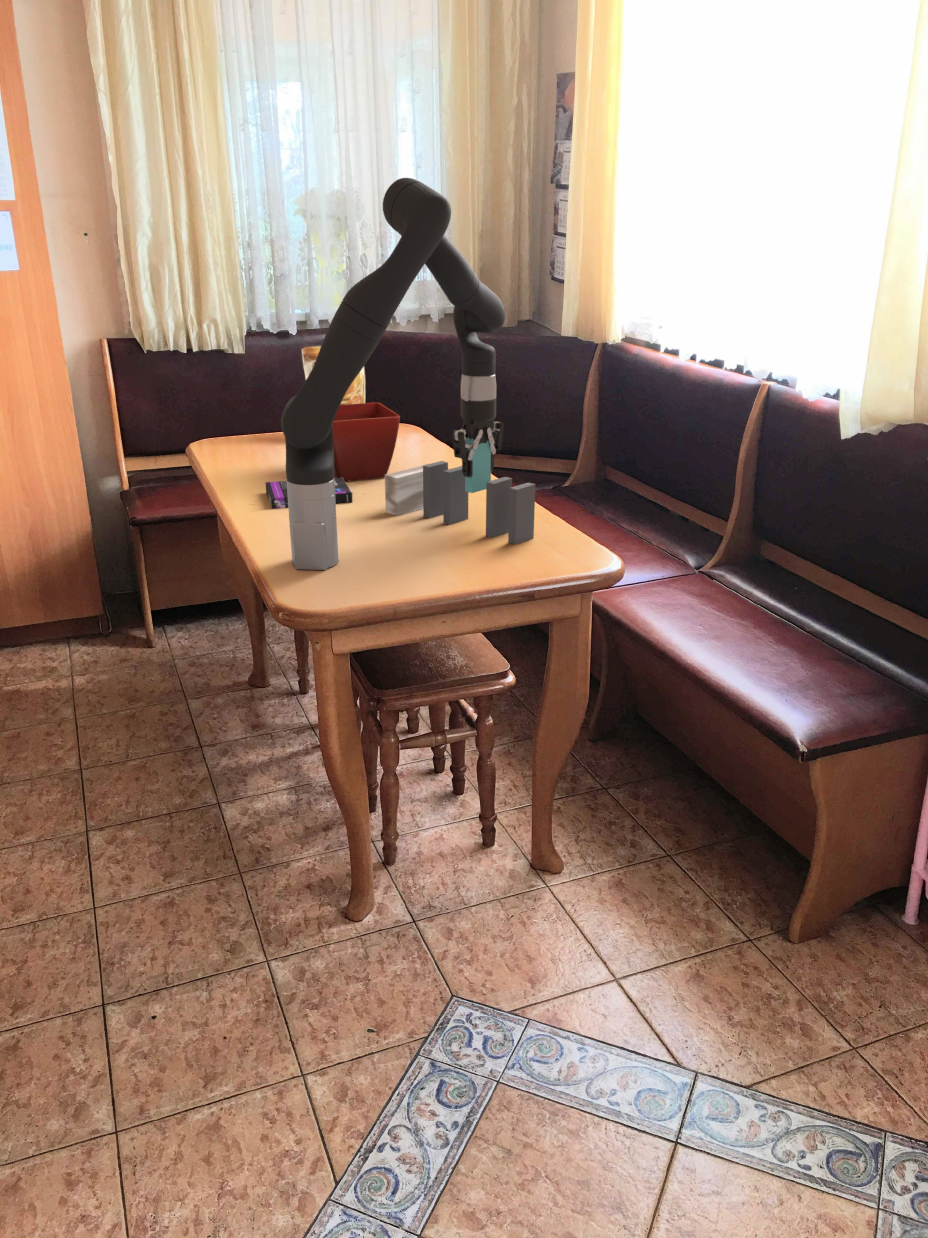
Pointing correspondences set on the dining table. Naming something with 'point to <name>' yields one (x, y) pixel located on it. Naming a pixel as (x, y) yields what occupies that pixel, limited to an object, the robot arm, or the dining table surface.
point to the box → (280, 496)
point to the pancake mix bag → (355, 390)
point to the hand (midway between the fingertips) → (478, 473)
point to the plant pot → (364, 440)
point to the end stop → (404, 491)
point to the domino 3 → (479, 467)
